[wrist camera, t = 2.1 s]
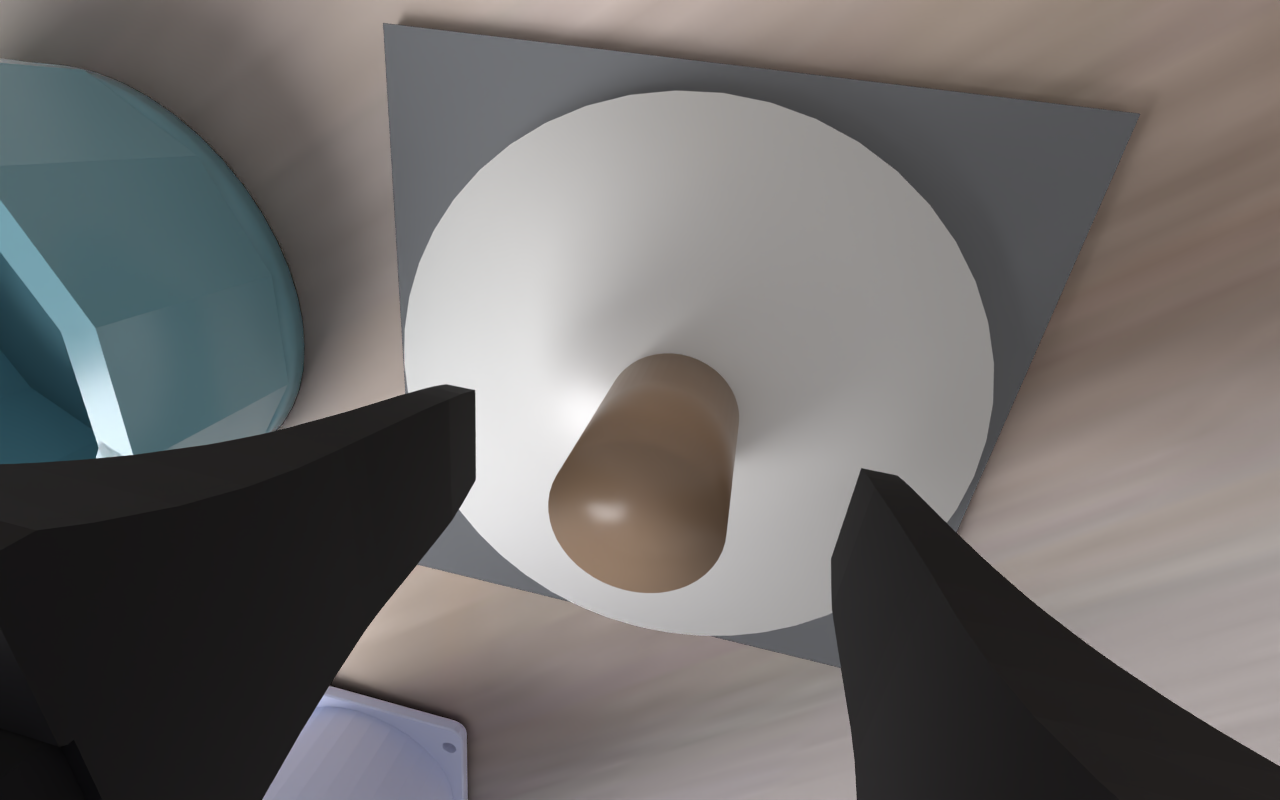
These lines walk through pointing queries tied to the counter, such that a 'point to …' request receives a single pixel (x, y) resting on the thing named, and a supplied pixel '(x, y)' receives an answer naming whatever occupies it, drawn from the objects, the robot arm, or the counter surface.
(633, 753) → the counter surface
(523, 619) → the counter surface
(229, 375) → the bowl
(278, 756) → the robot arm
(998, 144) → the mat
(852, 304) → the lid
